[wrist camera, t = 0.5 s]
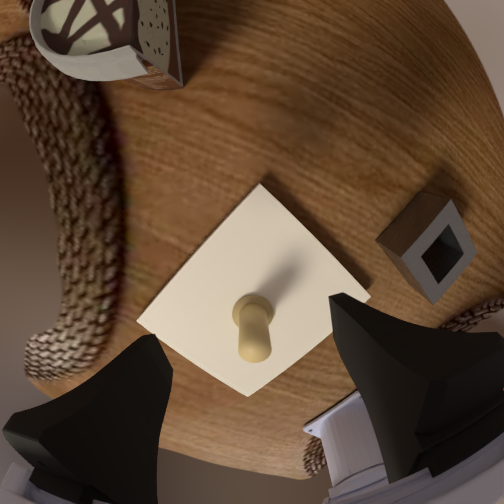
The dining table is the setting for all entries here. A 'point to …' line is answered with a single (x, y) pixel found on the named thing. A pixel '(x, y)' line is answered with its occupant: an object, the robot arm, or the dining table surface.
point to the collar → (428, 244)
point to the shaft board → (251, 296)
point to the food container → (110, 40)
